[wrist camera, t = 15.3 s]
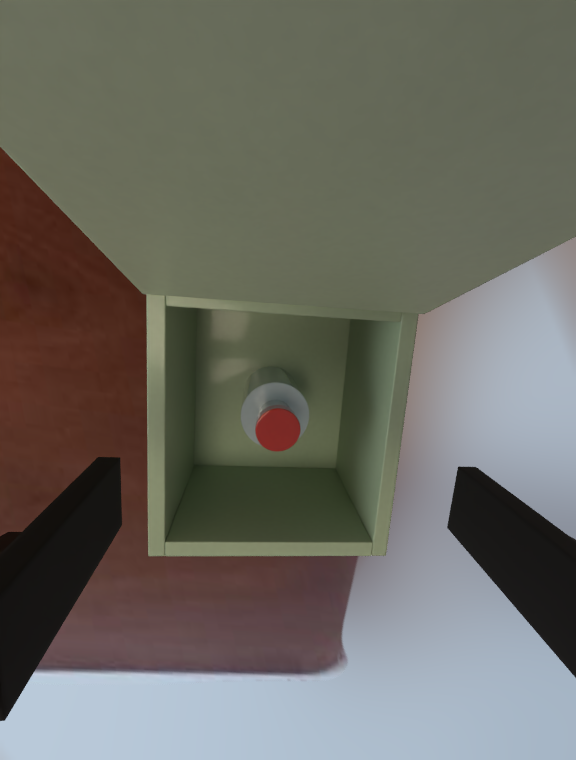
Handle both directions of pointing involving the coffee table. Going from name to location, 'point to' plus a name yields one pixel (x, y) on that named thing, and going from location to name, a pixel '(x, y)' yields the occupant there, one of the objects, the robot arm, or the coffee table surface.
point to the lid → (300, 140)
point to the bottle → (273, 409)
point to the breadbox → (254, 462)
